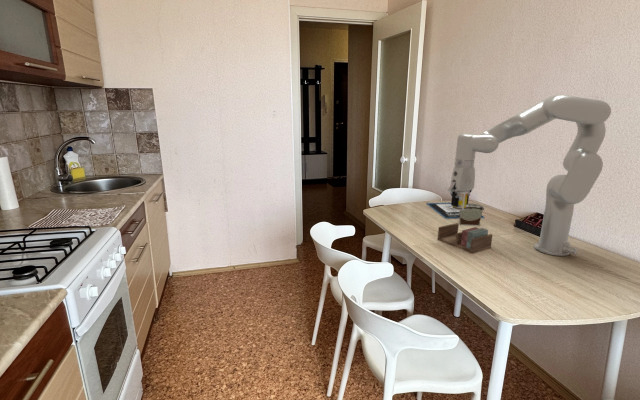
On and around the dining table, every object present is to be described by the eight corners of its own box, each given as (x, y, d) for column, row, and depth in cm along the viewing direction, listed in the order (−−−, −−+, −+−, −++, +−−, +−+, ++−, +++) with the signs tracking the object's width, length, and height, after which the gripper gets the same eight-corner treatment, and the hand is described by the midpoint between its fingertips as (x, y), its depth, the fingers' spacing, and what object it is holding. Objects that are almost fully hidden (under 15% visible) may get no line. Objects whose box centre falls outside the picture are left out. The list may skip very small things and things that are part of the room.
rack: (490, 248, 148) (493, 230, 146) (472, 253, 142) (474, 235, 140) (455, 235, 163) (457, 218, 161) (437, 239, 157) (439, 222, 155)
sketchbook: (445, 220, 187) (445, 216, 186) (425, 205, 216) (425, 202, 215) (484, 219, 188) (485, 215, 188) (459, 204, 217) (459, 201, 217)
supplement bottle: (461, 207, 155) (464, 184, 152) (468, 210, 149) (471, 187, 147) (449, 207, 154) (452, 184, 152) (455, 211, 149) (458, 187, 146)
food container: (478, 221, 182) (480, 203, 180) (482, 225, 176) (484, 206, 174) (453, 221, 184) (455, 202, 181) (457, 224, 178) (459, 205, 175)
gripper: (457, 166, 139) (452, 209, 144) (485, 163, 148) (479, 204, 152) (443, 163, 146) (438, 205, 150) (470, 161, 154) (465, 200, 159)
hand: (459, 204), depth 151 cm, fingers closed on supplement bottle, 5 cm apart
